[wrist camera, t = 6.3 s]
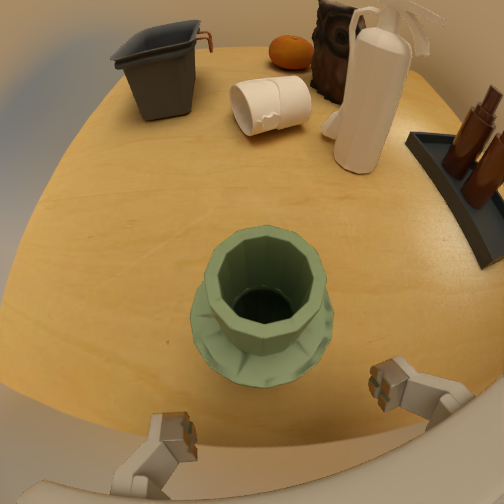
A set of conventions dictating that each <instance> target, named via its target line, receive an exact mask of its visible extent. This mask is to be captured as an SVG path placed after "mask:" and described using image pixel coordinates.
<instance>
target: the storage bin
mask: <svg viewBox="0 0 504 504" xmlns="http://www.w3.org/2000/svg"><path fill="white" fill-rule="evenodd" d="M200 22H201V21H200V20H189V21H182V22H176V23H171V24H166V25H161V26H156V27H152V28H148V29H145V30H143V31H140V32H138V33H137V34H135V35H134V36H133V37H132V38H130V39H129V40H128V41H127V42H126V43H125V44H124V45H123V46H121V48H119V49H118V50H117V51H116V52H115V53H114V54H113V55H112V56H111V58H110V59H111V60H114V61H116V62H115V69H118V70H119V69H123V70H124V73H125V76H126V78H127V80H128V83H129V85H130V88H131V90H132V93H133V95H134V98H135V100H136V103H137V105H138V108H139V110H140V113H141V115H142V118H143V119H144V120H154V119H159V118H165V117H170V116H176V115H182V114H186V113H188V112H190V110H191V104H192V96H193V88H194V83H195V49H194V48H195V45H196V40H201V39H207V40H208V44H209V50H210V53H212V52H213V44H212V36H211V33H210V32H208V31H201V32H199V31H200V28H199V25H200ZM201 33H208V35H209V38H208V37H200V38H196V34H201Z"/></svg>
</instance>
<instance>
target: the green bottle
mask: <svg viewBox="0 0 504 504" xmlns="http://www.w3.org/2000/svg"><path fill="white" fill-rule="evenodd" d="M326 283H327V277H326V274H325V271H324V268H323V265H322V263H321V260H320V257H319V254H318V252H317V251H316V250H315V249H314V248H313V247H312V246H311V245H310V244H308V243H307V242H306V241H305V240H304V239H303V238H302V237H300V236H299V235H298V234H297V233H295V232H293V231H289V230H285V229H281V228H278V227H274V226H270V225H263V226H258V227H252V228H247V229H242V230H239V231H237V232H235V233H234V234H233V235H231V236H230V237H229V238H227V239H226V240H225V241H223V242H222V243H221V244H220V245H218V246H217V247H216V248H215V249H214V252H213V254H212V256H211V259H210V261H209V263H208V266H207V268H206V270H205V273H204V281H203V282H202V284H201V285H200V286H199V287H198V289H197V291H196V294H195V298H194V301H193V305H192V309H191V313H190V321H191V327H192V334H193V340H194V343H195V345H196V347H197V348H198V350H199V352H200V353H201V355H202V356H203V358H204V359H205V361H206V362H207V364H208V365H209V366H210V367H211V368H212V369H213V370H215V371H216V372H218V373H219V374H221V375H222V376H224V377H226V378H227V379H229V380H230V381H232V382H233V383H236V384H240V385H244V386H249V387H255V388H269V387H273V386H277V385H281V384H285V383H289V382H293V381H295V380H297V379H298V378H299V377H301V376H302V375H303V374H305V373H306V372H307V371H309V370H310V369H311V368H312V367H314V366H315V365H316V364H317V363H318V362H319V360H320V359H321V357H322V355H323V353H324V351H325V350H326V348H327V346H328V344H329V342H330V340H331V337H332V327H333V315H334V312H333V308H332V305H331V302H330V299H329V296H328V293H327V290H326Z"/></svg>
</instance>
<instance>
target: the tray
mask: <svg viewBox="0 0 504 504" xmlns="http://www.w3.org/2000/svg"><path fill="white" fill-rule="evenodd" d="M455 137H456V135H450V134H439V133H426V132H410V134H409V136H408V138H407V141H406V143H405V144H406V145H407V147H408V148H409V149H410V151H411V152H412V153H413V154H414V156H415V157H416V158H417V160H418V161H419V162H420V164H421V165H422V167H423V168H424V169H425V171H426V172H427V174H428V175H429V176H430V178H431V179H432V181H433V182H434V184H435V185H436V187H437V188H438V190H439V191H440V193H441V195H442V196H443V198H444V199H445V201H446V203H447V204H448V206H449V207H450V209H451V211H452V213H453V214H454V216H455V218H456V219H457V221H458V223H459V225H460V227H461V228H462V230H463V232H464V234H465V236H466V238H467V240H468V242H469V244H470V246H471V248H472V250H473V252H474V254H475V256H476V258H477V260H478V263H479V265H480V267H481V269H484V268H486V267H488V266H490V265H492V264H494V263H496V262H498V261H500V260H502V259H504V200H503V198H502V197H501V195H500V193H499V192H498V190H497V191H496V192H495V193H494V195H493V196H492V197H491V198H490V200H489V201H488V202H487V203H486V204H485V206H484V207H483V208H482V209H480V210H479V209H475V208H474V207H472V206H471V205H470V204H469V203H468V202H467V201H466V200H465V198H464V196H463V194H462V191H461V187H462V185H463V184H464V183H465V181H466V180H467V178H468V177H469V176H470V174H471V173H472V171H473V170H474V168H475V167H476V165H477V164H478V162H477V161H476V162H475V163H474V165H473V166H472V168H471V169H470V171H469V172H468V174H467V175H466V177H465V178H464V179H463V180H458V179H455V178H454V177H452V176H451V175H450V174H449V173H448V172H447V171H446V170H445V169H444V167H443V165H442V160H443V158H444V156H445V155H446V153H447V151H448V149H449V148H450V146H451V144H452V142H453V140H454V139H455Z"/></svg>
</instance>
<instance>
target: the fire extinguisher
mask: <svg viewBox="0 0 504 504" xmlns="http://www.w3.org/2000/svg"><path fill="white" fill-rule="evenodd" d="M377 1H378V2H382V3H385V5H384V7H383V10H381V9H378V8H375V7H372V6H369V7H365V8H361V9H357V10H354V13H353V16H352V19H351V23H350V26H349V42H350V53H349V62H348V70H347V78H346V86H345V93H344V100H343V103H342V105H341V107H340V108H339V110H338V112H337V111H334V112H333V113H332V114H331V115H330V116H329V117H328V118H327V120H326V121H325V122H324V123H323V124H322V125H321V126H322V132H323V135H325V136H327V137H329V138H332V139H334V140H335V138H336V136H337V138H336V142H335V146H334V150H333V153H334V158H335V161H337V162H338V163H339V164H340V165H341V166H342V167H343V168H344V169H347V170H350V171H352V172H355V173H358V174H362V173H371V172H372V170H373V169H374V168H375V167H376V165H377V162H378V160H379V157H380V154H381V152H382V149H383V146H384V144H385V141H386V138H387V136H388V133H389V130H390V127H391V124H392V121H393V119H394V116H395V113H396V110H397V107H398V104H399V100H400V97H401V94H402V91H403V88H404V84H405V81H406V78H407V74H408V71H409V67H410V64H411V60H412V56H413V54H412V49H411V45H410V44H409V43H408V42H407V41H406V40H405V39H404V38H402V37H401V36H400V15H401V16H402V17H403V19H404V20H405V22H406V23H407V25H408V27H409V29H410V31H411V34H412V36H413V38H414V46H415V56H421V57H423V56H428V55H430V50H429V39H428V38H427V35H426V33H425V30H424V28H423V26H422V25H421V24H420V22H419V21H418V19H417V18H416V17H415V15H418V16H420V17H423V18H425V19H427V20H429V21H432V22H434V23H436V24H438V25H441V26H443V27H444V24H445V19H444V18H442V17H440V16H439V15H437V14H435V13H433V12H431V11H430V10H428V9H425V8H423V7H422V6H420V5H418V4H416V3H413V2H411V1H410V0H377ZM370 13H371V14H374V15H377V16H380V18H379V21H378V23H377V27H374V28H366V29H362V31H361V32H360V33H359V34H358V35H357V38H356V37H355V30H356V26H357V23H358V19H359V16H360V15H365V14H370ZM414 14H415V15H414Z"/></svg>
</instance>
